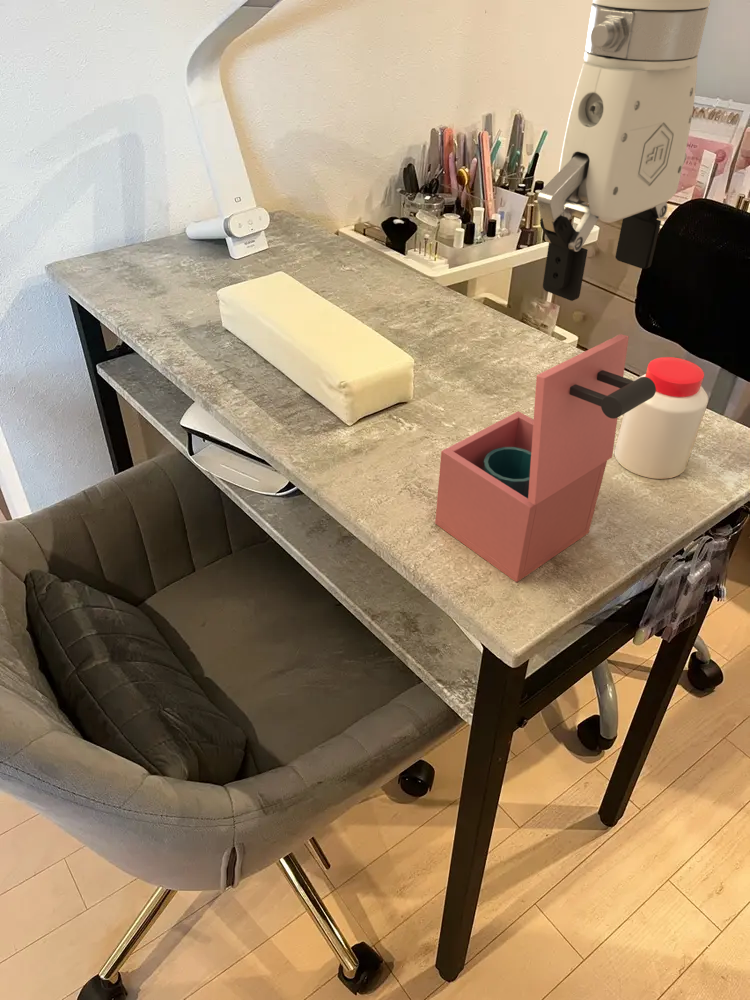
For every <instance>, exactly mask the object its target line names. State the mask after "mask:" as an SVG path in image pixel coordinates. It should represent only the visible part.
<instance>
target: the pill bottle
mask: <svg viewBox="0 0 750 1000" xmlns="http://www.w3.org/2000/svg"><path fill="white" fill-rule="evenodd" d="M640 377H647V378H650V379H651V380H652V381H653V382H654V384H655V387H656V392H655V395H654V396H653V397H652V398H651V399H649V400H647V401H645V402H644V403H642V404H640V405H638V406H637V407H635V408H633V409H632V410H630V411H628V412H626V413H625V414H623V415H622V419H621V423H620V427H619V430H618V434H617V438H616V443H615V445H614V449H613V454H614V458H615V459H616V461H617V463H619V464H620V466H622V467H623V468H624V469H626V470H627V471H629V472H630V473H633V474H635V475H637V476H641V477H644V478H648V479H654V480H655V479H656V480H664V479H671V478H676V477H678V476H679V475H681V474H683V473H684V472H685V471H686V469H687V466H688V463H689V460H690V457H691V455H692V452H693V448H694V445H695V443H696V440H697V436H698V434H699V431H700V427H701V426H702V422H703V419H704V416H705V412H706V410H707V407H708V403H709V396H708V393H707V391H706V390H705V388H704V387H703V386H702V385H703V381H704V378H705V371H704V370H703V369H702V368H701V366H699V365H697V364H696V363H694V362H692V361H690V360H687V359H684V358H680V357H673V356H672V357H671V356H662V357H657V358H653V359H652V360H650V362H649V363H648V364H647V367H646V371H645V373H644V374H642V375H639V376H638V377H636V378H635V379H633V381H635V380H637V379H638V378H640Z"/></svg>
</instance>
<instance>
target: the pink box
mask: <svg viewBox="0 0 750 1000" xmlns="http://www.w3.org/2000/svg"><path fill="white" fill-rule="evenodd" d="M533 421H534V418H532V417H530V416H528V415H526V414H525V413H523V412H521V411H519V410H517V411H515V412H514V413H512V414H510V415H508V416H506V417H504V418H502V419H500V420H498V421H496V422H495V423H493V424H491V425H488V426H486V427H485V428H483V429H481V430H479V431H478V432H475V433H473V434H470V436H467V437H466V438H464V439H461V440H460V441H458V442H456V443H454V444H452V445H450V446H448V447H446V448H444V449H442V450H441V451H440V461H439V462H440V463H439V473H438V485H437V497H436V498H437V499H436V510H435V521H434V523H435V525H436V526H438V527H439V528H441V529H442V530H444V532H446V533H447V534H448V535H451V536H452V537H453V538H454V539H456V540H457V541H458V542H460V543H462V544H463V545H464V546H465V547H466V548H468V549H469V550H471V551H472V552H474V554H476V555H478V556H479V557H481V558H482V559H483V560H484V561H486V562H487V563H488V564H490V565H491V566H493V567H494V568H496V569H498V570H499V571H500V572H501V573H503V574H504V575H505V576H507V577H508V578H510V579H511V580H512V581H514V582H515V583H518V582H520V581H521V580H523V579H524V578H526V577H527V576H528V575H530V574H531V573H533V572H534V571H536V570H537V569H539V568H540V567H542V566H543V565H545V564H546V563H547V562H549V561H551V560H552V559H553V558H555V557H556V556H557V555H560V553H562V552H564V551H565V550H566V549H568V548H569V547H570V546H571V547H572V545H573V544H575V543H576V542H578V541H579V540H581V539H582V538H584V537H586V536H587V535H588V534H589V533H590V530H591V526H592V521H593V518H594V513H595V509H596V506H597V503H598V498H599V494H600V490H601V486H602V482H603V478H604V474H605V471H606V467H607V464H608V460H607V461H605V462H604V463H602V464H601V465H599V466H597V467H596V468H594V469H593V470H591V471H589V472H588V473H586V474H585V475H583V476H581V477H580V478H578V479H577V480H575V481H573V482H572V483H570V484H568V485H567V486H565V487H564V488H562V489H560V490H559V491H557V492H556V493H554V494H552V495H551V496H549V497H548V498H546V499H544V500H543V501H541V502H540V503H538V504H536V505H534V504H532V503H530V502H528V498H526V497H524V496H523V495H521V494H520V493H518V492H516V491H515V490H513V489H512V488H510V487H509V486H507V485H505V484H504V483H502V482H501V481H499V480H498V479H496V478H494V477H493V476H491V475H490V474H488V473H486V472H485V471H483V463H484V459H485V457H486V455H487V454H488V453H489V452H491V451H492V450H494V449H497V448H501V447H517V448H522V449H525V450H528V451H530V452H531V451H532V436H533Z"/></svg>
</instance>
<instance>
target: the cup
mask: <svg viewBox="0 0 750 1000" xmlns="http://www.w3.org/2000/svg"><path fill="white" fill-rule="evenodd" d="M530 465H531V452H530V451H528V450H525V449H522V448H517V447H501V448H497V449H494V450H492V451H491V452H489V453H488V454H487V455H486V457H485V459H484V463H483V471H485V472H486V473H488V474H490V475H491V476H493V477H494V478H496V479H498V480H499V481H501V482H502V483H504V484H505V485H507V486H509V487H510V488H512V489H513V490H515V491H516V492H518V493H520V494H521V495H523V496H524V497H526V498H528V494H529V480H530Z"/></svg>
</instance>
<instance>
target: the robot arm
mask: <svg viewBox="0 0 750 1000" xmlns="http://www.w3.org/2000/svg"><path fill="white" fill-rule="evenodd" d="M710 3H711V0H592V4H591V6H590V7H591V9H590V15H589V20H588V26H587V27H588V28H587V35H586V42H585V48H584V49H585V50H584V54H583V60H584V62H583V63H582V67H581V70H580V73H579V77H578V79H577V84H576V87H575V91H574V95H573V97H572V98H573V99H572V102H571V107H570V111H569V115H568V120H567V124H566V127H565V128H566V129H565V134H564V138H563V143H562V149H561V154H560V160H559V166H558V167H559V168H558V173H556V175H554V176H553V177H552V179H550V180H549V182H548V183H547V184H546V185H544V187H543V188H542V189H540V191H539V193H538V194H537V198H536V199H537V200H536V201H537V207H538V211H539V216H540V223H539V224H540V228H541V229H542V231H543V232H544V241H545V242H546V243H548V248H547V253H546V261H545V268H544V275H543V282H542V288H543V290H544V291H545V292H547V293H550V294H553V295H554V296H558V297H561V298H563V299H565V300H568V301H570V302H573V301H575V300H578V299H579V298H580V295H581V290H582V285H583V280H584V274H585V268H586V262H587V256H588V252H589V251H588V250H589V249H587V248H584V247H583V246H584V245H585V243H586V242H587V240H588V238H589V236H590V234H591V232H592V231H593V229H594V227H595V226H596V224H597V222H598V220H600V221H601V222H604V223H610V224H611V223H615V222H617V221H618V222H619V221H621V225H620V231H619V237H618V240H617V241H618V242H617V247H616V251H615V259H616V260H617V261H618V262H621V263H624V264H626V265H629V266H633V267H635V268H639V269H642V270H647V269H648V268H650V267H651V266H652V263H653V258H654V254H655V250H656V246H657V242H658V241H657V240H658V237H659V232H660V228H661V224H662V219H663V218H665V216H666V214H667V212H668V201H669V200H671V199H672V198H673V197H674V196H675V194H676V193H677V191H678V188H679V185H680V180H681V177H682V172H683V167H684V165H685V163H686V160H687V153H686V152H687V148H688V147H687V146H688V142H689V134H690V130H691V124H692V117H693V112H694V105H695V96H696V87H697V76H698V55H699V52H700V48H701V44H702V39H703V35H704V31H705V26H706V21H707V17H708V13H709V7H710ZM573 216H574V217H577V218H580V221H579V222H578V223H577V225H576V228H574V226H573V225H572V223H571V221H570V219H571V218H572V217H573Z"/></svg>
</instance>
